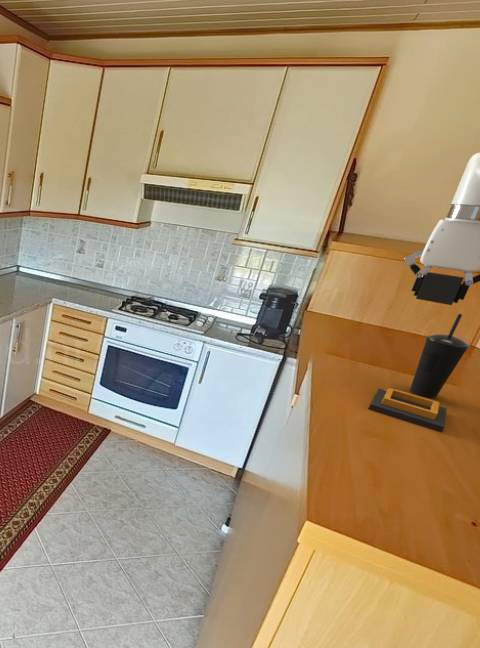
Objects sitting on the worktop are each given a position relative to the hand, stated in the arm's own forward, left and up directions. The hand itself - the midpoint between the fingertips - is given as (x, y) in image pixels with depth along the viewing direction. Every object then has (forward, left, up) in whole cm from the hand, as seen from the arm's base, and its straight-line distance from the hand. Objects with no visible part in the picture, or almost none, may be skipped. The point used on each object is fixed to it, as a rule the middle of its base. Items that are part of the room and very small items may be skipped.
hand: (435, 297), depth 109 cm
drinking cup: (-3, -7, -23) cm, 24 cm away
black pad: (0, 0, -1) cm, 1 cm away
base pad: (-8, +10, -23) cm, 27 cm away
